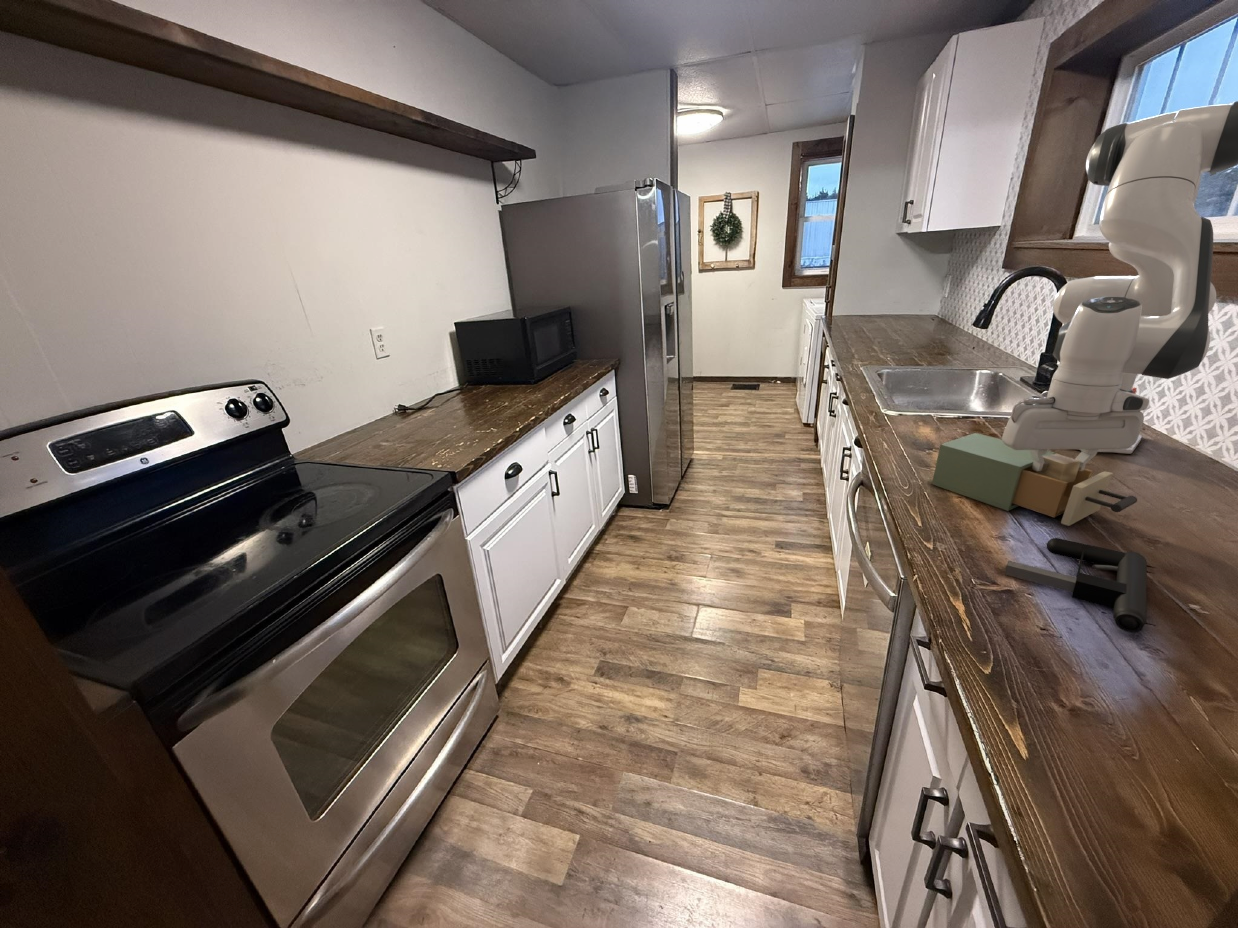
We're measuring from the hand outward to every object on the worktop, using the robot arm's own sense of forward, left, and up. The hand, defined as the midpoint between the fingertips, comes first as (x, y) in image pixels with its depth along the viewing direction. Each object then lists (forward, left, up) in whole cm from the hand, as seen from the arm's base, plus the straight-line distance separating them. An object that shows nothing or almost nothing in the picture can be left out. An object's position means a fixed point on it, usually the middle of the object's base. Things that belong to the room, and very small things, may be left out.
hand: (1057, 470), depth 91 cm
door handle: (+22, +13, -8) cm, 27 cm away
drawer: (0, +2, -7) cm, 7 cm away
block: (0, 0, -2) cm, 2 cm away
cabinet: (0, -11, -8) cm, 13 cm away
